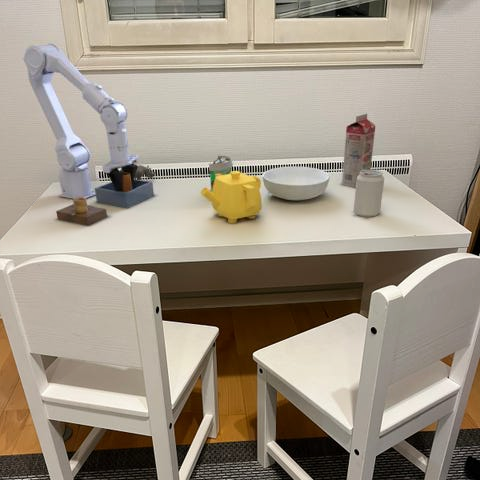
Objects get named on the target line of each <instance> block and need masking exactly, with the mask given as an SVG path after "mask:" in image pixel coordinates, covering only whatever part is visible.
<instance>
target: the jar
mask: <svg viewBox="0 0 480 480" xmlns="http://www.w3.org/2000/svg"><path fill="white" fill-rule="evenodd" d="M122 185H123V192H128V191H130V190H132V182H131V175H130V173H128V172H123V177H122Z"/></svg>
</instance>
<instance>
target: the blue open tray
mask: <svg viewBox="0 0 480 480" xmlns="http://www.w3.org/2000/svg"><path fill="white" fill-rule="evenodd" d="M94 192H95V193H96V195H95V199H96V203H97V204H103V205H108V206H116V207H119V208H125V209H126V208H127V209H129V208H130V207H133V206H135V205H138V204H140V203H142V202H144V201H146V200H148V199H150V198H153V197H155V192H154V182H153V181H151V180H142V179H140V180H137V178H135V179H134V185H133V188H132V190H130V191H128V192H119V191H116V190H115V187H114V185H113V183H112V181H110V182H107V183H105V184H102V185H100V186H97V187H95V188H94Z"/></svg>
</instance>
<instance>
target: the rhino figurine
mask: <svg viewBox="0 0 480 480" xmlns="http://www.w3.org/2000/svg"><path fill="white" fill-rule="evenodd" d="M137 166H138V168H137V171H136V173H135V177H134V179H136V180H142V178H143V176H144V177H146V178H149V179H153V178H154V176H155V174H156V173H157V171H156V170H155V171H153V170H152V167H150V166H149V165H146V166H145V165H143V164H142V165H141V164H137ZM119 171H122V169H121V168H120V169H119Z"/></svg>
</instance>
